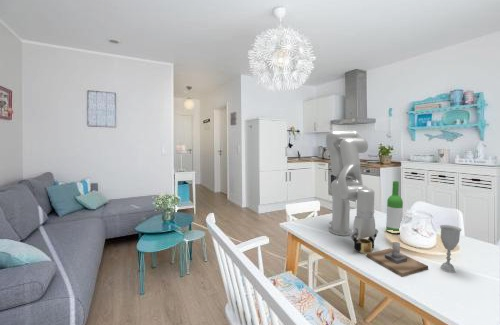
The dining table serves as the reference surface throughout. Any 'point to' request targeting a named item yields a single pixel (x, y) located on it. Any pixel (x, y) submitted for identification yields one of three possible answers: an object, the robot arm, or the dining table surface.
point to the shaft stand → (397, 261)
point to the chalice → (449, 244)
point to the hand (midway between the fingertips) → (364, 248)
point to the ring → (365, 246)
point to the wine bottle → (394, 209)
